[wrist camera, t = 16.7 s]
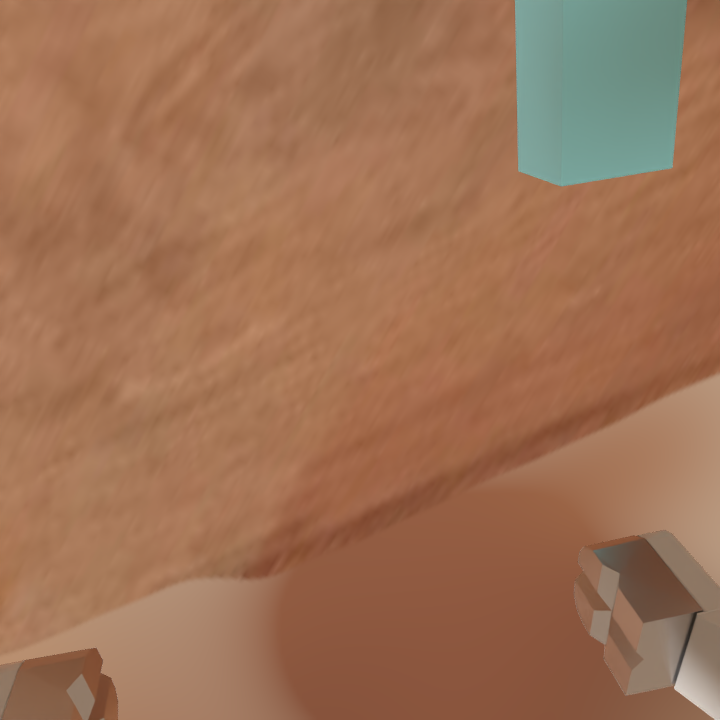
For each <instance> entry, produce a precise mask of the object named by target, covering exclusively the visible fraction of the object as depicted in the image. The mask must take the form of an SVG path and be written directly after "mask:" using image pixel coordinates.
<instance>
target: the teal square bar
mask: <svg viewBox="0 0 720 720" xmlns="http://www.w3.org/2000/svg"><path fill="white" fill-rule="evenodd" d="M686 7H687V0H515V20H516V72H517V124H518V171H520V172H522V173H525V174H528V175H531V176H534V177H536V178H539V179H542V180H545V181H548V182H550V183H553V184H556V185H559V186H567V185H573V184H579V183H585V182H591V181H597V180H603V179H609V178H615V177H621V176H627V175H633V174H639V173H645V172H651V171H658V170H664V169H670V168H672V165H673V154H674V143H675V131H676V120H677V109H678V97H679V86H680V75H681V64H682V52H683V41H684V30H685V18H686Z"/></svg>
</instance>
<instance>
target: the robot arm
mask: <svg viewBox="0 0 720 720" xmlns="http://www.w3.org/2000/svg"><path fill="white" fill-rule="evenodd" d="M578 563H579V565H580V566H581V568H582V569H583V572H582V573H581V574H580V575H579V576H578V577H577V579H576V580H575V587H574V597H575V602H576V607H577V610H578V613H579V615H580V618H581V620H582V623H583V624H584V626H585V628H586V630H587V631H588V633H589V635H590V636H592V637H593V638H595V639H597V640H598V641H600V642H602V643H603V644H605V651H604V660H605V662H606V663H607V665H608V667H609V669H610V670H611V672H612V673H613V675H614V677H615V679H616V680H617V682H618V684H619V685H620V687H621V689H622V690H623V692H624V694H625V695H626V696H627V695H631V694H636V693H641V692H646V691H651V690H655V689H660V688H665V687H670V686H675V687H674V689H675V690H677V691H678V692H679V693H681V694H682V695H683V696H685V697H686V698H687V699H689V700H690V701H691V702H692V703H694V704H695V705H696V706H698V707H699V708H701V709H702V710H703V711H704V712H706V713H707V714H708V715H710V716H711V717H712V718H714V719H715V720H720V587H719V586H718V584H717V583H716V582H715V581H714V580H713V579H712V578H711V577H710V576H709V574H708V573H707V572H706V571H705V570H704V569H703V568H702V567H701V565H700V564H699V563H698V562H697V561H696V560H695V559H694V557H693V556H692V555H691V554H690V553H689V552H688V551H687V550H686V548H685V547H684V546H683V545H682V544H681V543H680V542H679V541H678V539H677V538H676V537H675V536H674V535H673V534H672V533H670V532H668V531H666V530H662V531H656V532H652V533H647V534H642V535H638V536H630V537H625V538H620V539H616V540H611V541H607V542H602V543H598V544H594V545H589V546H584V547H583V548H582V550H581V551H580V553H579V559H578ZM102 664H103V659H102V658H101V656H100V654H99V652H98V650H97V648H91V649H85V650H80V651H74V652H68V653H63V654H57V655H52V656H46V657H41V658H35V659H29V660H24V661H19V662H14V663H9V664H3V665H0V720H118V699H117V693H116V689H115V686H114V684H113V682H112V679H111V678H110V677H108V676H106V675H104V674H102V673H101V669H102Z"/></svg>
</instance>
